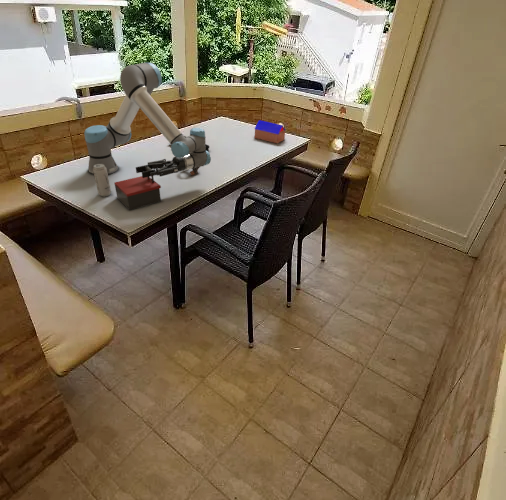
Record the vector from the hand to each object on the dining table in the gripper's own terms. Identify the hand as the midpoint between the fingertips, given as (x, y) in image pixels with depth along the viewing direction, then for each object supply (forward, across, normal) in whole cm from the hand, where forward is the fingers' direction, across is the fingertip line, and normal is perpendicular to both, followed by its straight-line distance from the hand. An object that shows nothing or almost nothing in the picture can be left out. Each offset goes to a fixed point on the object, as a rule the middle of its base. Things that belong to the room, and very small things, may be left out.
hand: (139, 172), depth 165 cm
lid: (+2, 0, -7) cm, 7 cm away
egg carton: (-57, +51, -14) cm, 78 cm away
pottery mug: (-36, +15, -11) cm, 41 cm away
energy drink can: (+14, +14, -14) cm, 24 cm away
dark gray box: (+2, 0, -14) cm, 14 cm away
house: (-118, +39, -14) cm, 125 cm away
